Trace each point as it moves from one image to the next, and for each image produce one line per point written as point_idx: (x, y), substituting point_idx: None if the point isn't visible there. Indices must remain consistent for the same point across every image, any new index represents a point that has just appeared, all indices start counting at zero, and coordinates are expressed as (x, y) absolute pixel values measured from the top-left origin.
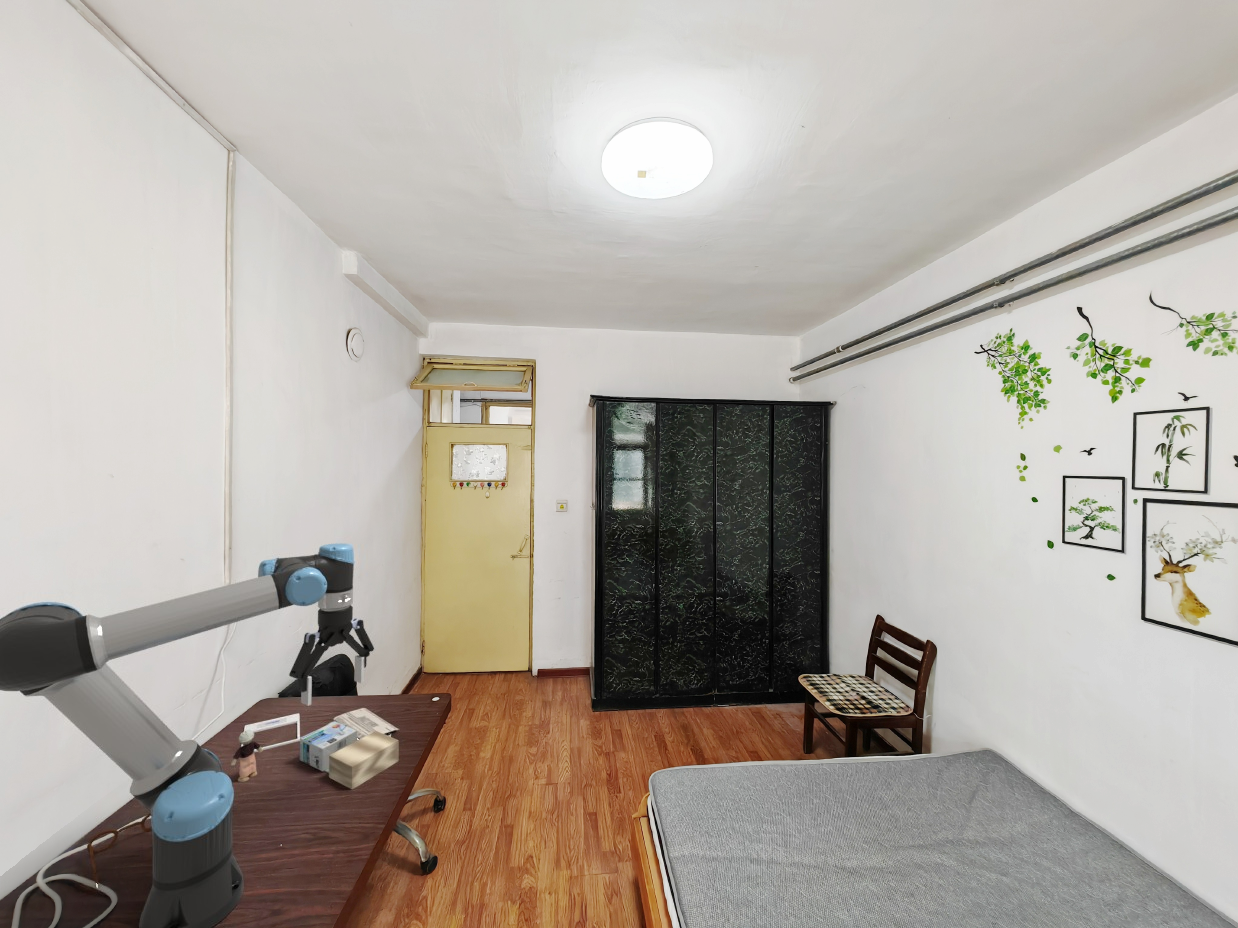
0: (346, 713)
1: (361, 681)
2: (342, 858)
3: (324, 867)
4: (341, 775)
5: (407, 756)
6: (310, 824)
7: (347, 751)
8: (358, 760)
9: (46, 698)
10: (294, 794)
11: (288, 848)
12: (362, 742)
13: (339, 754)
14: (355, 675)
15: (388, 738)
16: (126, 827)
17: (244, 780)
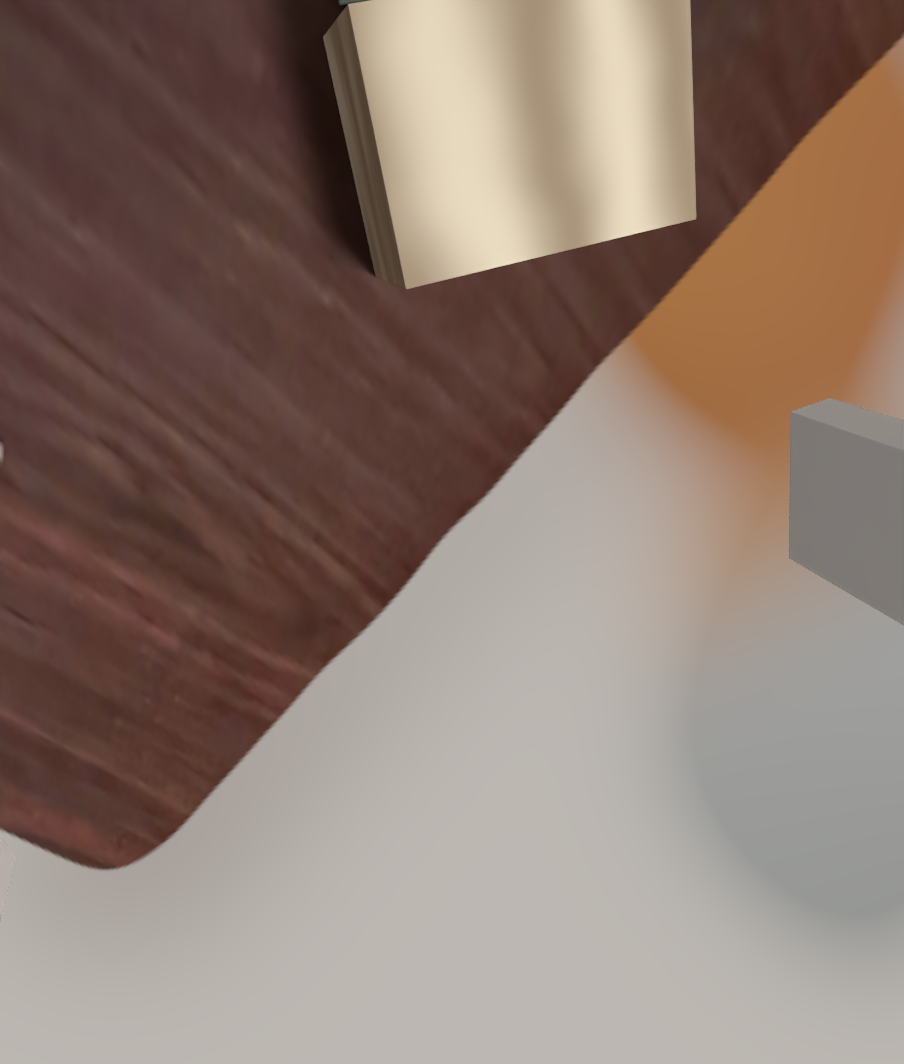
0: None
1: (809, 568)
2: (202, 680)
3: (136, 685)
4: (362, 173)
5: None
6: (141, 401)
7: (452, 69)
8: (456, 247)
9: None
10: (114, 43)
11: (25, 498)
12: (562, 38)
13: (402, 60)
14: (865, 463)
15: (676, 142)
16: None
17: None
